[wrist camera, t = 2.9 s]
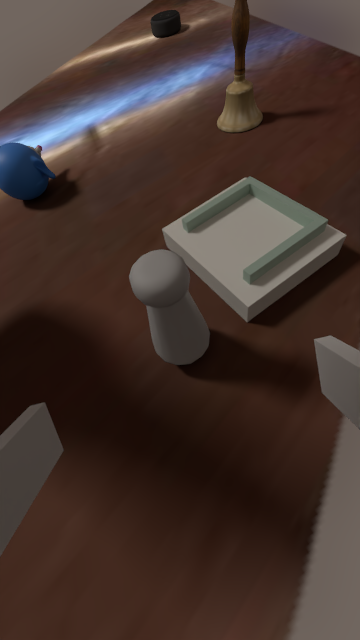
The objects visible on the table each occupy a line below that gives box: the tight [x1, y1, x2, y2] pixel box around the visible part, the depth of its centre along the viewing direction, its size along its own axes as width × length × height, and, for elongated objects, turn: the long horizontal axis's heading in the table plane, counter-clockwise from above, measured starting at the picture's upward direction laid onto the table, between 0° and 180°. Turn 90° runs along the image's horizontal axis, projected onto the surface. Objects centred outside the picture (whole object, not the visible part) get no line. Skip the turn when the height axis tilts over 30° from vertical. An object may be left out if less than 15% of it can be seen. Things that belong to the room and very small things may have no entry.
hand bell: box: [217, 0, 263, 133], centre depth 45 cm, size 8×8×16 cm
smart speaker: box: [151, 10, 181, 37], centre depth 84 cm, size 9×9×4 cm
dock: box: [162, 176, 346, 322], centre depth 34 cm, size 16×14×4 cm
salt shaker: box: [129, 250, 210, 365], centre depth 25 cm, size 6×6×13 cm
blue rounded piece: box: [0, 143, 56, 200], centre depth 48 cm, size 12×12×8 cm
